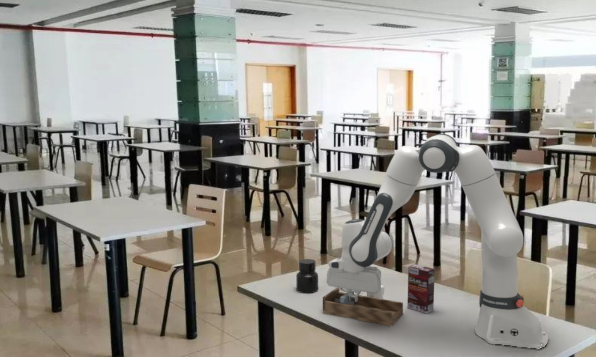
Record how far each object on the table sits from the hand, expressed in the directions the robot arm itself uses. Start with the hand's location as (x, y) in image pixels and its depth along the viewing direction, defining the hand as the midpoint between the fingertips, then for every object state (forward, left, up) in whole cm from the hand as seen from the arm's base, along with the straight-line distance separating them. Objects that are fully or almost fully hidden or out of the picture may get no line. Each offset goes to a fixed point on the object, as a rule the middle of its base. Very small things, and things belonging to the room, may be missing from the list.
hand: (353, 300), depth 212 cm
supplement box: (-21, -14, -5) cm, 25 cm away
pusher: (+5, 0, -3) cm, 5 cm away
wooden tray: (-4, 0, -4) cm, 6 cm away
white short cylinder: (-4, -12, -5) cm, 13 cm away
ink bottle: (+26, -14, -5) cm, 30 cm away
